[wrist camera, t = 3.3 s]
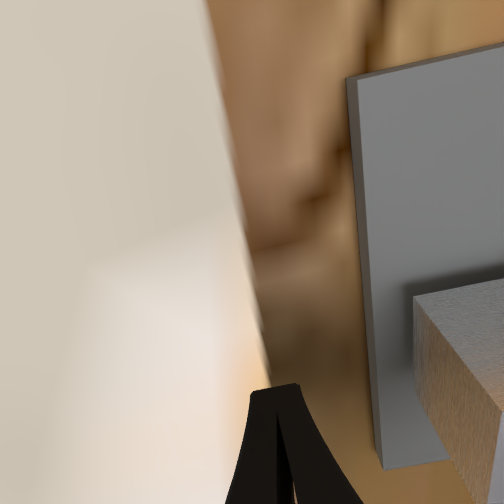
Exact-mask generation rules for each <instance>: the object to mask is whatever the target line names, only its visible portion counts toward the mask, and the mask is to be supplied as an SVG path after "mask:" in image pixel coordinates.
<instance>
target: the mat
mask: <svg viewBox="0 0 504 504" xmlns="http://www.w3.org/2000/svg"><path fill="white" fill-rule="evenodd" d="M346 86H347V99H348V111H349V124H350V136H351V148H352V161H353V173H354V186H355V198H356V211H357V223H358V236H359V248H360V261H361V273H362V285H363V298H364V310H365V323H366V335H367V348H368V360H369V373H370V385H371V398H372V410H373V422H374V435H375V447H376V452H377V455H378V457H379V460H380V463H381V465H382V468H383V471H385V470H391V469H397V468H402V467H408V466H414V465H419V464H425V463H431V462H436V461H442V460H447V459H451V458H450V456H449V454H448V453H447V451H446V449H445V447H444V445H443V443H442V442H441V440H440V438H439V436H438V434H437V433H436V431H435V429H434V427H433V425H432V424H431V422H430V420H429V418H428V416H427V415H426V413H425V411H424V409H423V407H422V405H421V404H420V402H419V400H418V398H417V396H416V395H415V393H414V386H413V296H418V295H423V294H428V293H433V292H438V291H443V290H448V289H453V288H458V287H463V286H468V285H473V284H478V283H483V282H488V281H493V280H498V279H503V278H504V42H502V43H497V44H493V45H488V46H484V47H480V48H475V49H471V50H467V51H462V52H458V53H454V54H449V55H445V56H440V57H436V58H432V59H427V60H423V61H419V62H414V63H410V64H406V65H401V66H397V67H392V68H388V69H384V70H379V71H375V72H371V73H366V74H362V75H358V76H353V77H349V78H346Z"/></svg>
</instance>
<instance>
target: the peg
mask: <svg viewBox="0 0 504 504" xmlns="http://www.w3.org/2000/svg"><path fill="white" fill-rule="evenodd" d="M413 386H414V393H415V395H416V396H417V398H418V400H419V402H420V404H421V405H422V407H423V409H424V411H425V413H426V415H427V416H428V418H429V420H430V422H431V424H432V425H433V427H434V429H435V431H436V433H437V434H438V436H439V438H440V440H441V442H442V443H443V445H444V447H445V449H446V451H447V453H448V454H449V456H450V458H451V460H452V462H453V463H454V465H455V467H456V469H457V471H458V472H459V474H460V476H461V478H462V480H463V482H464V483H465V485H466V487H467V489H468V491H469V492H470V494H471V496H472V498H473V500H474V501H475V503H476V504H504V278H503V279H498V280H493V281H488V282H483V283H478V284H473V285H468V286H463V287H458V288H453V289H448V290H443V291H438V292H433V293H428V294H423V295H418V296H413Z"/></svg>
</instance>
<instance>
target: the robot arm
mask: <svg viewBox="0 0 504 504" xmlns="http://www.w3.org/2000/svg"><path fill="white" fill-rule="evenodd" d="M293 482H294V487H295V492H296V497H297V502H298V504H364V503H363V502H362V501H361V499H360V498H359V496H358V495H357V493H356V492H355V490H354V489H353V487H352V486H351V484H350V483H349V481H348V480H347V478H346V476H345V475H344V473H343V472H342V470H341V469H340V467H339V465H338V464H337V462H336V460H335V459H334V457H333V455H332V454H331V452H330V450H329V448H328V447H327V445H326V443H325V441H324V440H323V438H322V436H321V434H320V432H319V431H318V429H317V427H316V425H315V423H314V421H313V419H312V417H311V414H310V412H309V410H308V408H307V405H306V403H305V401H304V398H303V395H302V392H301V389H300V385H298V384H296V383H293V384H287V385H282V386H277V387H272V388H266V389H261V390H256V391H253V392H252V393H251V395H250V403H249V411H248V417H247V422H246V428H245V432H244V437H243V441H242V445H241V449H240V454H239V457H238V461H237V465H236V469H235V472H234V476H233V479H232V482H231V486H230V489H229V492H228V495H227V498H226V502H225V504H295V499H294V487H293Z"/></svg>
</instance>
